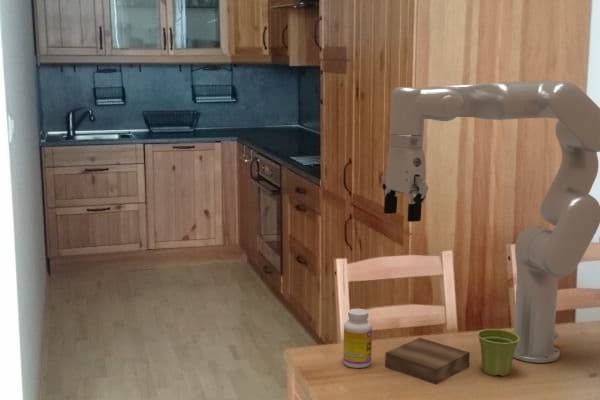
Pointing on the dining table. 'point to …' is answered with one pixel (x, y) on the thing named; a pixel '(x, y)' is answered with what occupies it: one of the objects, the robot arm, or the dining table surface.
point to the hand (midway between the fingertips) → (401, 217)
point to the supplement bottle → (357, 339)
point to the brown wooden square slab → (427, 360)
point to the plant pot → (497, 350)
